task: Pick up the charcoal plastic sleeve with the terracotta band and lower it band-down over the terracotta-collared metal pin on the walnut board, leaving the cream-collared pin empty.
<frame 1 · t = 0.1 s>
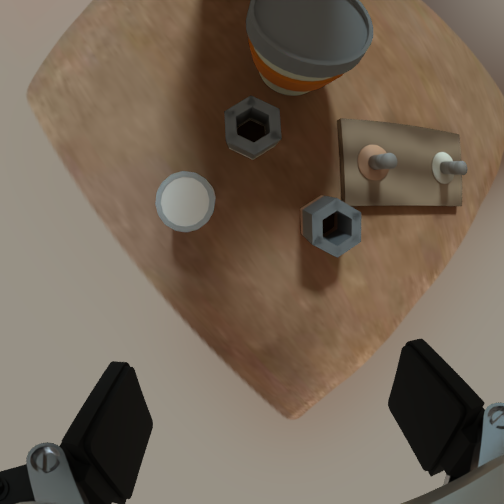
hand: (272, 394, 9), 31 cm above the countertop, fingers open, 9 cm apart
reusable coffee cup: (290, 68, 34), on the countertop
cream-banded sleeve: (251, 134, 36), on the countertop
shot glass: (195, 198, 38), on the countertop
terracotta-banded sleeve: (321, 220, 39), on the countertop
pin board: (406, 165, 37), on the countertop
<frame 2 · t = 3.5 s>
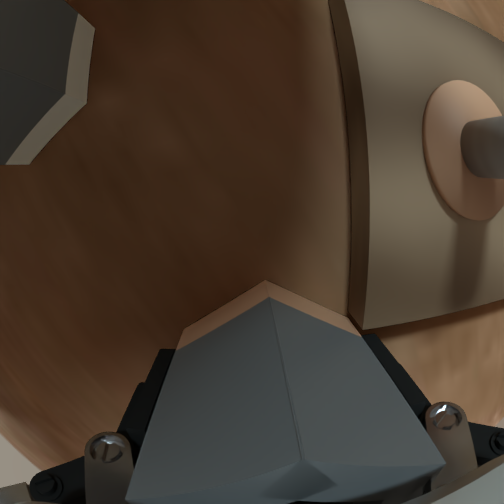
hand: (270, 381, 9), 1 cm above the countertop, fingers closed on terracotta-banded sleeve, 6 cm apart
cream-banded sleeve: (33, 86, 7), on the countertop
terracotta-banded sleeve: (268, 364, 10), on the countertop, touching gripper
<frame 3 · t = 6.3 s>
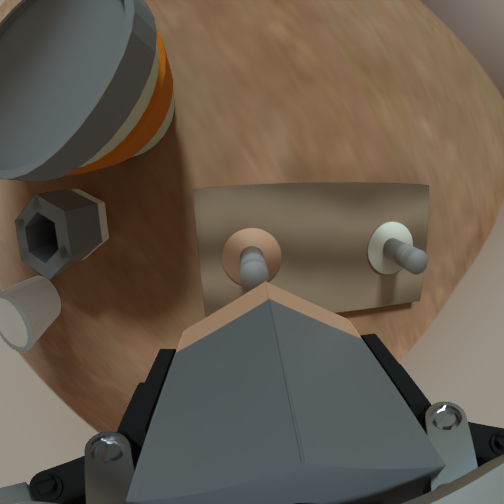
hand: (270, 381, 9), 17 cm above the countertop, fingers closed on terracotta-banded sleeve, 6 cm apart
reusable coffee cup: (129, 112, 22), on the countertop
cream-banded sleeve: (82, 223, 25), on the countertop
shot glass: (44, 297, 27), on the countertop
terracotta-banded sleeve: (268, 365, 10), point 16 cm above the countertop, touching gripper
pin board: (321, 248, 26), on the countertop
when the fingers open (4 cm above the countertop, at t = 9.3 s): terracotta-banded sleeve stays where it is, resting on pin board.
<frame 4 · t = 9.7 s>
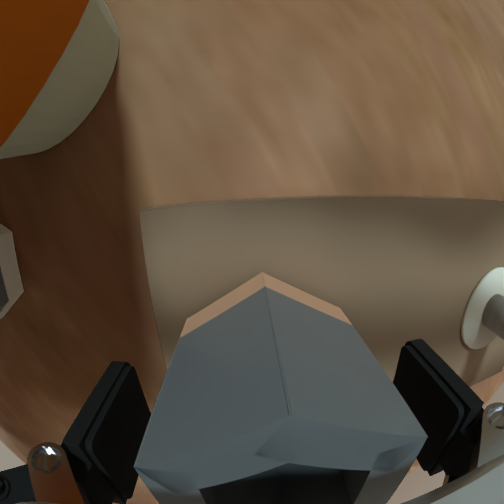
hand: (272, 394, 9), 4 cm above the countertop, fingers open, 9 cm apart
reusable coffee cup: (49, 74, 10), on the countertop
terracotta-banded sleeve: (266, 351, 11), point 2 cm above the countertop, touching pin board
pin board: (390, 316, 13), on the countertop
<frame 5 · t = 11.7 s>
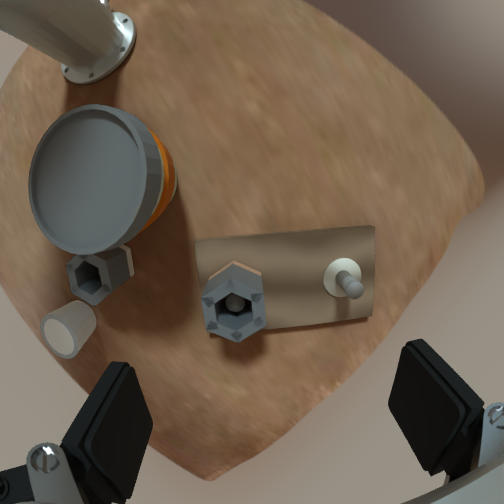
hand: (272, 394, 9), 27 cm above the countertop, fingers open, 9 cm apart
reusable coffee cup: (144, 181, 33), on the countertop
cream-banded sleeve: (113, 262, 35), on the countertop
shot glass: (82, 316, 37), on the countertop
terracotta-banded sleeve: (236, 288, 34), point 2 cm above the countertop, touching pin board
pin board: (289, 279, 36), on the countertop
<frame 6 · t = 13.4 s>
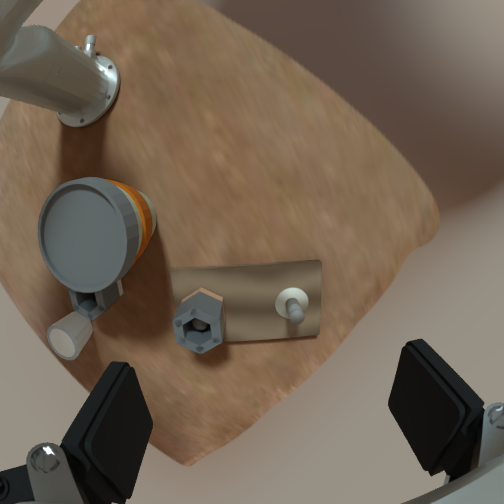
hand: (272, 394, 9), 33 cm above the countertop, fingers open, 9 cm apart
reusable coffee cup: (129, 218, 40), on the countertop
cream-banded sleeve: (105, 283, 42), on the countertop
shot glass: (80, 324, 44), on the countertop
terracotta-banded sleeve: (204, 309, 42), point 2 cm above the countertop, touching pin board
pin board: (247, 302, 44), on the countertop
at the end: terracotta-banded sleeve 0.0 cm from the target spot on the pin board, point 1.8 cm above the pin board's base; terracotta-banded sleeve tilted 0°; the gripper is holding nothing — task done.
